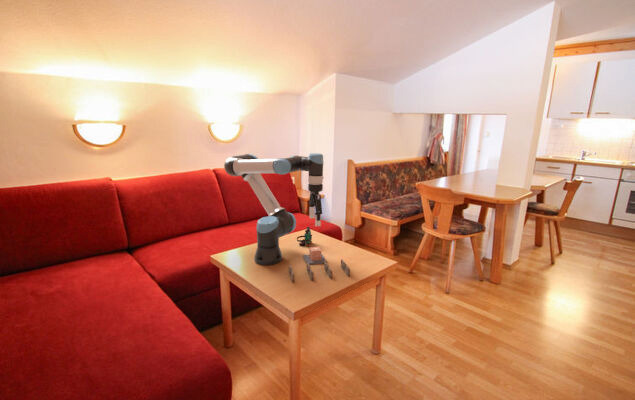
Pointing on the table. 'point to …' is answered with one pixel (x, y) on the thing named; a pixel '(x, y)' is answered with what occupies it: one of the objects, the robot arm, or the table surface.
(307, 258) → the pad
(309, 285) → the table surface
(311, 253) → the letter cube
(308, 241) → the binoculars
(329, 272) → the bay rack
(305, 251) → the table surface
